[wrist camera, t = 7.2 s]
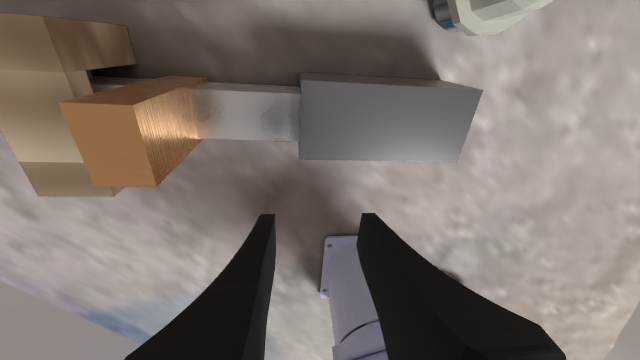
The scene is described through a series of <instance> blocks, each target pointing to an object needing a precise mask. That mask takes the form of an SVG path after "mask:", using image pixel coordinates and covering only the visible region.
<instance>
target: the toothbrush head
mask: <svg viewBox="0 0 640 360" xmlns="http://www.w3.org/2000/svg"><path fill="white" fill-rule="evenodd" d="M551 1H553V0H433V4H432V5H433V9H434V13H435V16H436V20H437V24H439V25H440V26H441V27H443V28H444V29H446V30H447V31H448V32H450V33H455V32H464V33H465V34H466V35H468V36H479V35H491V34H498V33H501V32H502V31H504V30H506V29H507V28H509V27H510V26H512V25H513V24H515V23H516V22H518V21H519V20H521V19H523V18H524V17H525V15H526V14H527V13H528V12H530V11H534V10H537V9H540V8H542V7H544V6H545V5H547V4H548V3H550V2H551Z"/></svg>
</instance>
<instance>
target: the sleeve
mask: <svg viewBox="0 0 640 360" xmlns="http://www.w3.org/2000/svg"><path fill="white" fill-rule="evenodd" d="M299 87H300V89H301V98H300V141H298V144H299V159H305V160H359V161H414V162H457V161H458V158H459V155H460V153H461V150H462V147H463V144H464V142H465V139H466V136H467V133H468V131H469V128H470V125H471V122H472V119H473V117H474V114H475V111H476V108H477V106H478V103H479V100H480V97H481V94H482V92H483V90H480V89H476V88H472V87H468V86H464V85H459V84H455V83H451V82H447V81H443V80H429V79H412V78H395V77H378V76H361V75H344V74H327V73H310V72H299Z"/></svg>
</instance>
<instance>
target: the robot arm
mask: <svg viewBox="0 0 640 360" xmlns="http://www.w3.org/2000/svg"><path fill="white" fill-rule="evenodd" d="M328 244H331V245H328ZM275 258H276V233H275V214H261V215H260V216H259V218H258V220H257V222H256V224H255V226H254V227H253V229H252V231H251V232H250V234H249V236H248V237H247V239H246V240H245V242H244V243H243V245H242V246H241V248H240V249H239V250H238V252H237V253H236V254H235V256H234V257H233V258H232V260H231V261H230V262H229V264H228V265H227V266H226V267H225V269H224V270H223V271H222V272H221V273H220V274H219V276H218V277H217V278H216V279H215V280H214V281H213V282H212V283H211V284H210V285H209V286H208V287H207V288H206V289H205V290H204V291H203V292H202V294H201V295H200V296H199V297H198V298H196V299H195V300H194V301H193V302H192V303H191V304H190V305H189V306H188V307H187V308H186V309H185V310H183V311H182V312H181V313H180V314H179V315H178V316H177V317H176V318H174V319H173V320H172V321H171V322H170V323H169V324H168V325H166V326H165V327H164V328H163V329H162V330H160V331H159V332H158V333H157V334H155V335H154V336H153V337H151V338H150V339H149V340H148V341H146V342H145V343H144V344H142V345H141V346H140V347H139V348H137V349H136V350H135V351H133V352H132V353H131V354H130V355H128V356H127V357H126V358H125V359H124V360H264V353H265V338H266V325H267V316H268V309H269V303H270V297H271V290H272V284H273V277H274V271H275ZM320 297H321V298H329V304H330V311H331V318H332V325H333V332H334V340H335V346H333V347H332V352H333V360H566V356H565V354H564V353H563V352H562V350H561V349H560V348H559V347H558V346H557V345H556V343H555V342H554V341H553V340H552V339H551V338H550V337H549V335H548V334H547V333H546V332H545V331H544V330H543V329H542V327H541V326H540V325H538V324H536V323H534V322H532V321H530V320H528V319H526V318H523V317H521V316H519V315H517V314H515V313H513V312H511V311H509V310H507V309H505V308H503V307H501V306H499V305H497V304H495V303H493V302H491V301H490V300H488V299H486V298H484V297H482V296H480V295H479V294H477V293H475V292H474V291H472V290H470V289H468V288H467V287H465V286H464V285H462V284H460V283H459V282H457V281H456V280H454V279H453V278H451V277H449V276H448V275H446V274H445V273H444V272H442V271H441V270H439V269H438V268H437V267H435V266H434V265H432V264H431V263H430V262H428V261H427V260H426V259H425V258H423V257H422V256H421V255H420V254H418V253H417V252H416V251H415V250H414V249H412V248H411V247H410V246H409V245H408V244H407V243H406V242H404V241H403V240H402V239H401V238H400V237H399V236H398V235H397V234H396V233H395V232H394V231H393V230H392V229H390V228H389V227H388V226H387V225H386V224H385V223H384V222H383V221H382V220H381V219H380V218H379V217H378V216H377V215H376V214H375V213H362V217H361V222H360V227H359V233H358V236H328V237H326V239H325V245H324V256H323V266H322V277H321V287H320Z"/></svg>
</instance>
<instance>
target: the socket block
mask: <svg viewBox="0 0 640 360" xmlns="http://www.w3.org/2000/svg"><path fill="white" fill-rule="evenodd" d="M132 64H136V60H135V57H134V53H133V49H132V45H131V42H130V38H129V34H128V30H127V27H126V26H125V25H116V24H107V23H98V22H90V21H81V20H72V19H63V18H55V17H46V16H35V15H22V14H8V13H0V130H1V132H2V134H3V135H4V137H5V139H6V141H7V142H8V144H9V146H10V148H11V149H12V151H13V153H14V155H15V156H16V158H17V160H18V161H19V163H20V165H21V167H22V168H23V170H24V172H25V174H26V175H27V177H28V179H29V181H30V182H31V184H32V186H33V188H34V189H35V191H36V193H37V195H38V196H115V195H116V194H117V193H119V192H120V191H121V190H122V189H123V188H125V187H120V186H94V185H93V182H92V180H91V178H90V175H89V173H88V171H87V168H86V166H85V164H84V162H83V159H82V157H81V155H80V152H79V150H78V148H77V145H76V143H75V141H74V139H73V136H72V134H71V132H70V129H69V127H68V125H67V123H66V120H65V118H64V116H63V113H62V111H61V109H60V106H59V104H58V102H61V101H65V100H69V99H73V98H78V97H82V96H86V95H90V94H94V93H93V91H92V88H91V85H90V82H89V80H88V78H92V77H93V75H92V72H91V69H99V68H107V67H115V66H123V65H132Z"/></svg>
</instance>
